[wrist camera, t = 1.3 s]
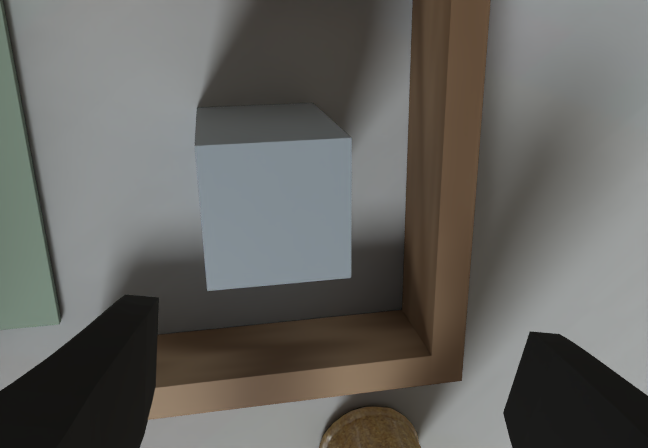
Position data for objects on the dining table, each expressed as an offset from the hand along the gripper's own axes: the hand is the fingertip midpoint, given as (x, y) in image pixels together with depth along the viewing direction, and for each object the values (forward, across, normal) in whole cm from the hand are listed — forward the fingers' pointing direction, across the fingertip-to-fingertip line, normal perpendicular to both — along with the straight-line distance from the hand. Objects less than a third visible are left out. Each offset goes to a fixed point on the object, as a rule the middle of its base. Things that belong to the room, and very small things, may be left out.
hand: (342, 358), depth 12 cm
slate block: (+11, +2, 0) cm, 11 cm away
